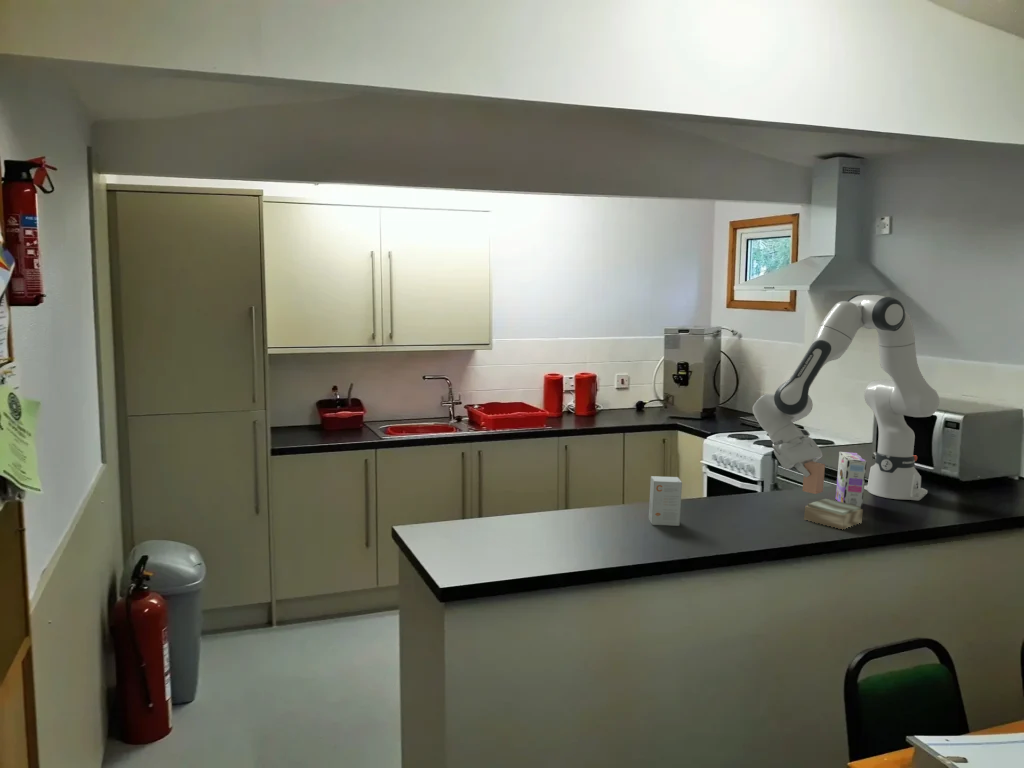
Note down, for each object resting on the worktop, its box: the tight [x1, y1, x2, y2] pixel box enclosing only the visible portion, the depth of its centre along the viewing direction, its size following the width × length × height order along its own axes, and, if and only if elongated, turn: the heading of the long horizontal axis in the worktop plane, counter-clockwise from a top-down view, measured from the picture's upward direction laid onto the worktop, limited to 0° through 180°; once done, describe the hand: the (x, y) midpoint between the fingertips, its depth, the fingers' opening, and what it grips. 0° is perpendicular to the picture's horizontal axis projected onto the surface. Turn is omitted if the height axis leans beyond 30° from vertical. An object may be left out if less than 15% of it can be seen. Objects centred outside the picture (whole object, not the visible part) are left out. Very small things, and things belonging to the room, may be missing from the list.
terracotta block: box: [802, 461, 826, 495], centre depth 256 cm, size 4×4×9 cm
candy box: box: [835, 451, 867, 509], centre depth 260 cm, size 14×6×16 cm, turn 168°
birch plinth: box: [803, 498, 864, 531], centre depth 242 cm, size 12×12×5 cm
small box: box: [648, 475, 683, 527], centre depth 234 cm, size 8×6×13 cm
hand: (813, 474), depth 256 cm, fingers closed on terracotta block, 4 cm apart
